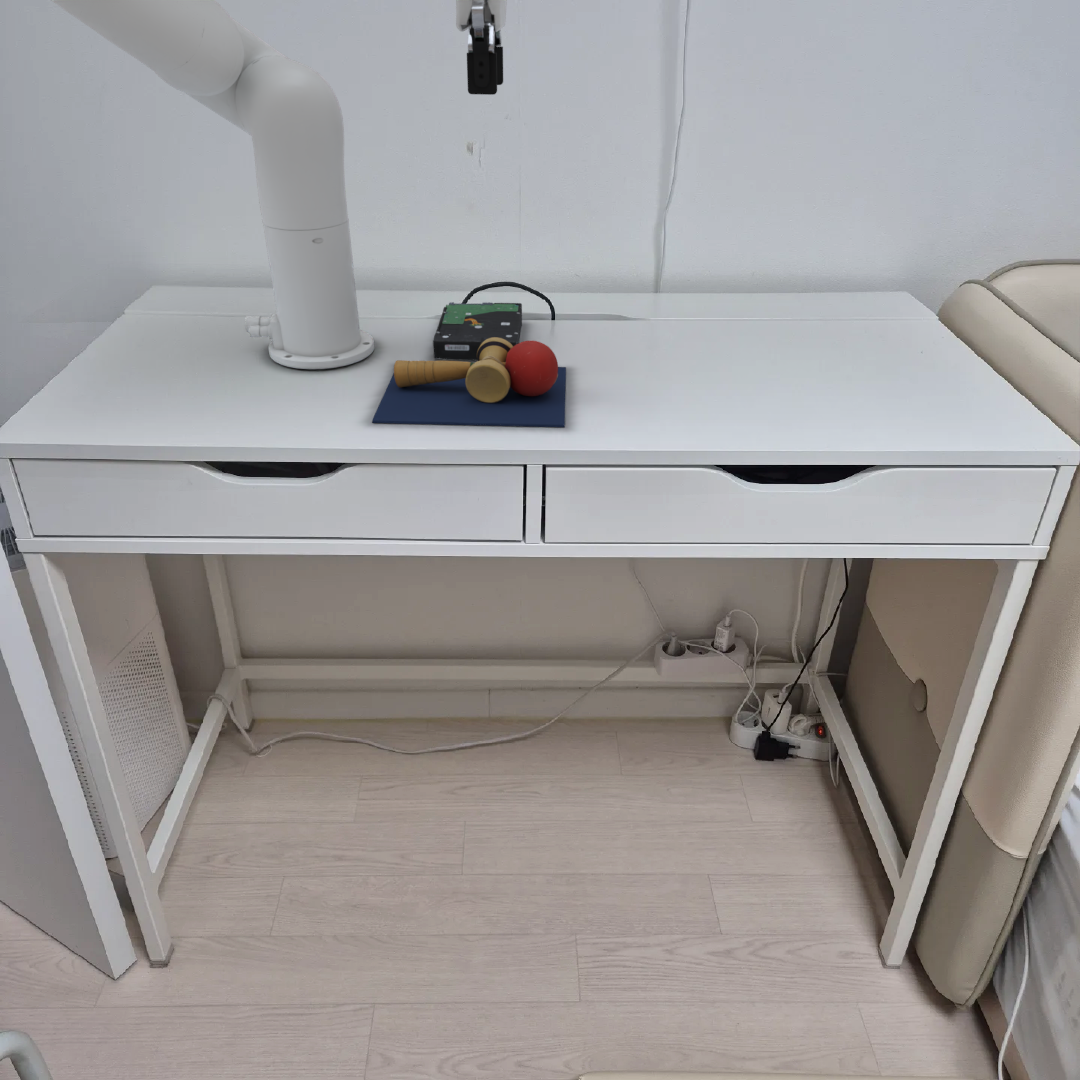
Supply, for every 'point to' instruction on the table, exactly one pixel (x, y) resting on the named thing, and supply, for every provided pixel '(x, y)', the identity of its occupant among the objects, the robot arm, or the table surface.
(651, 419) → the table surface
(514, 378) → the kendama
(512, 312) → the disk drive
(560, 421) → the napkin
